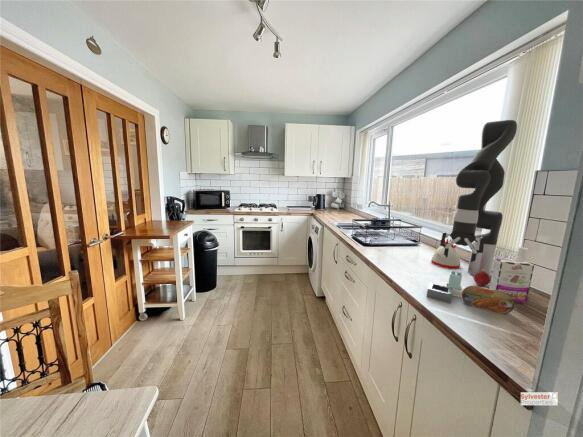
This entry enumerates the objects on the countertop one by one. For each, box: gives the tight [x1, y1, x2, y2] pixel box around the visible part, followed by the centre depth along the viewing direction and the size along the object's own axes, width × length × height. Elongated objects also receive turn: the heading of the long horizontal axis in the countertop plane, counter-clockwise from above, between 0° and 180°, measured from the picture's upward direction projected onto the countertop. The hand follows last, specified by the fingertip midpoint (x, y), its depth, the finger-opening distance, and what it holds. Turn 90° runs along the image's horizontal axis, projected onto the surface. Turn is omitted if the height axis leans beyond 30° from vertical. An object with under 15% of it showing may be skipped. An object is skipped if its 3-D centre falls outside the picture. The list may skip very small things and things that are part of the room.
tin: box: [461, 285, 515, 315], centre depth 87 cm, size 15×3×8 cm, turn 62°
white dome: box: [431, 238, 461, 270], centre depth 134 cm, size 14×14×15 cm
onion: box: [473, 270, 491, 287], centre depth 107 cm, size 6×6×8 cm
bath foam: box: [511, 246, 531, 263], centre depth 103 cm, size 7×7×20 cm
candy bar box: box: [489, 257, 535, 304], centre depth 96 cm, size 11×5×16 cm, turn 77°
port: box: [426, 281, 453, 304], centre depth 95 cm, size 8×8×4 cm
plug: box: [448, 269, 463, 290], centre depth 99 cm, size 4×4×9 cm
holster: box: [443, 280, 465, 299], centre depth 100 cm, size 7×7×3 cm
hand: (458, 259), depth 97 cm, fingers open, 8 cm apart
